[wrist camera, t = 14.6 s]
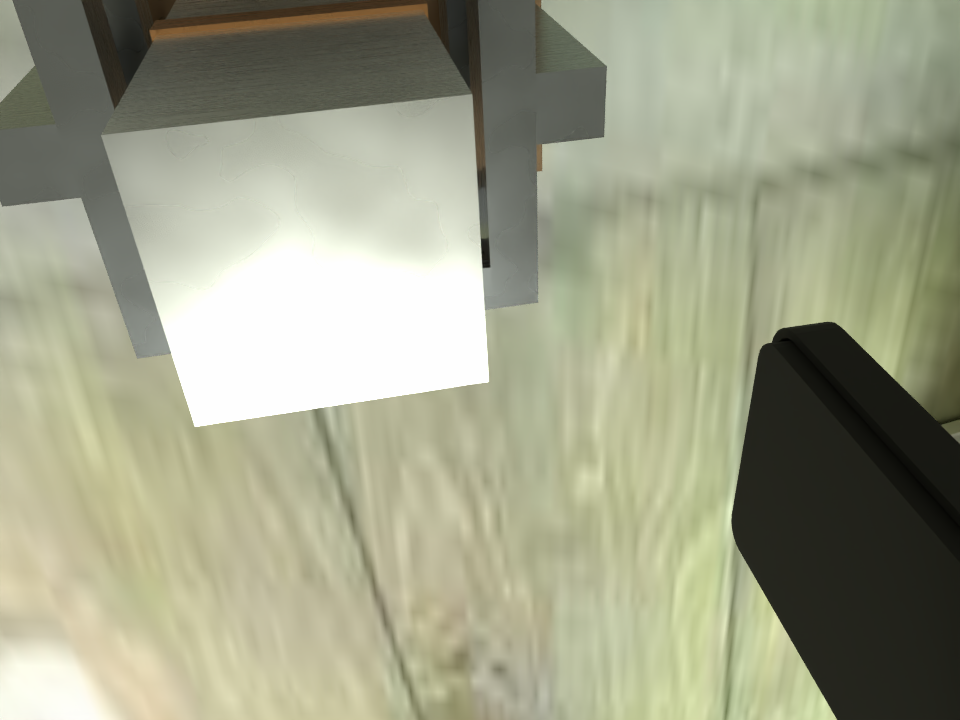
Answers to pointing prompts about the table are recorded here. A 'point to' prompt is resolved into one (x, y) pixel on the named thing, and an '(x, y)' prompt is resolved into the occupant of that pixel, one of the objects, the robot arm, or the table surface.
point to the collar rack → (126, 39)
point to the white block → (304, 203)
